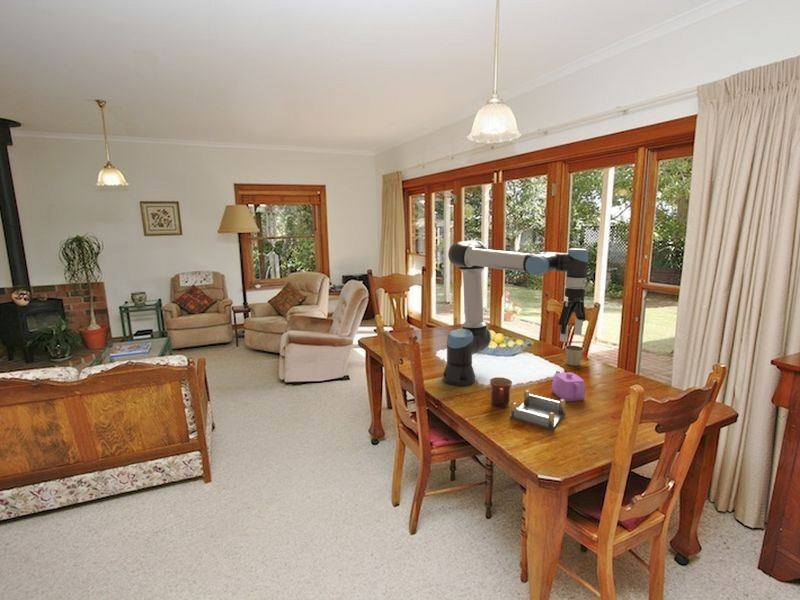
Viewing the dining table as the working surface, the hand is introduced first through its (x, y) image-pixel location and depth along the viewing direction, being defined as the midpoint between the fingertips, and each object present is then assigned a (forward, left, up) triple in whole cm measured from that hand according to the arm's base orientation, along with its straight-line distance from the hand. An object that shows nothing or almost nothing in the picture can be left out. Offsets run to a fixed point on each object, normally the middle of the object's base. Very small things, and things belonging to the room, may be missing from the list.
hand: (570, 337), depth 170 cm
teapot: (0, +2, -27) cm, 27 cm away
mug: (-19, -25, -26) cm, 41 cm away
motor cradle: (-4, -24, -26) cm, 36 cm away
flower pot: (-8, +43, -26) cm, 51 cm away
